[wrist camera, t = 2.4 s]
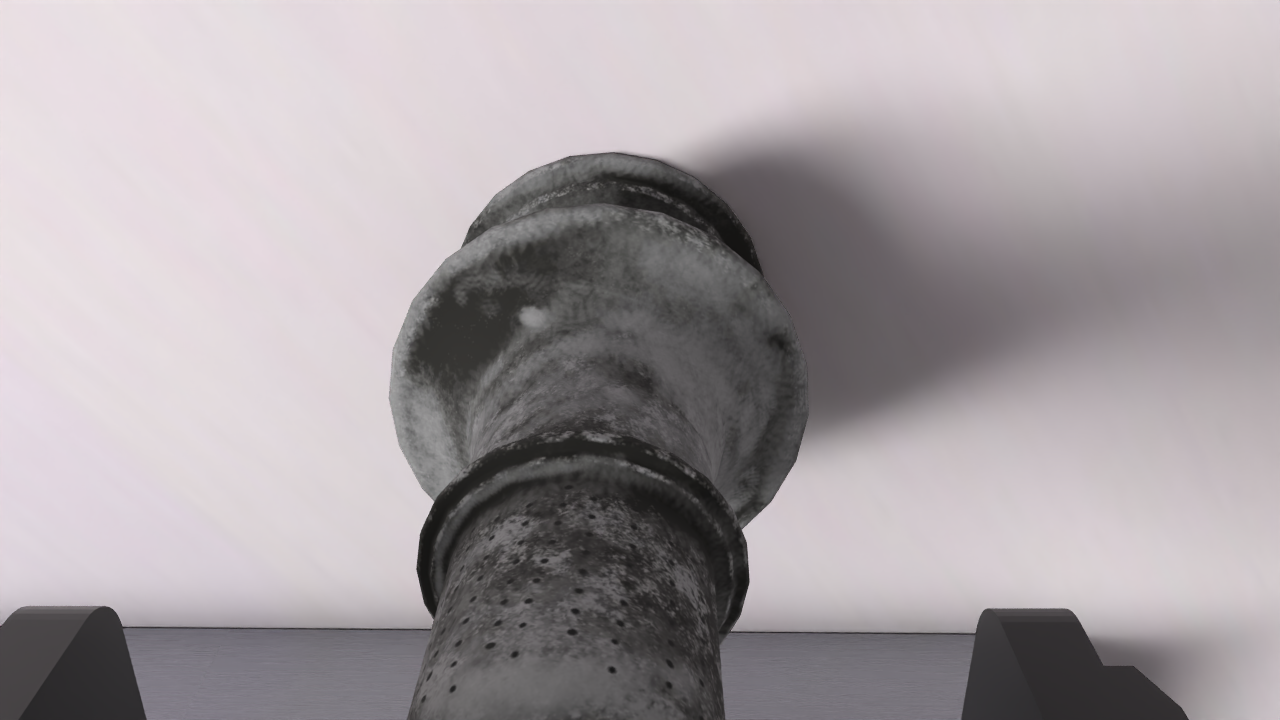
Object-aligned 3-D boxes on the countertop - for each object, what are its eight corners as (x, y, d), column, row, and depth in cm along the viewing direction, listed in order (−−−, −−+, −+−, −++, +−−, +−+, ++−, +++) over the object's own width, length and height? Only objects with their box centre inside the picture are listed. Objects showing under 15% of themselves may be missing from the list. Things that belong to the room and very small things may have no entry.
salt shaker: (766, 461, 20) (896, 1212, 9) (441, 449, 20) (193, 1188, 9) (800, 141, 17) (1033, 667, 7) (425, 126, 17) (57, 631, 7)
